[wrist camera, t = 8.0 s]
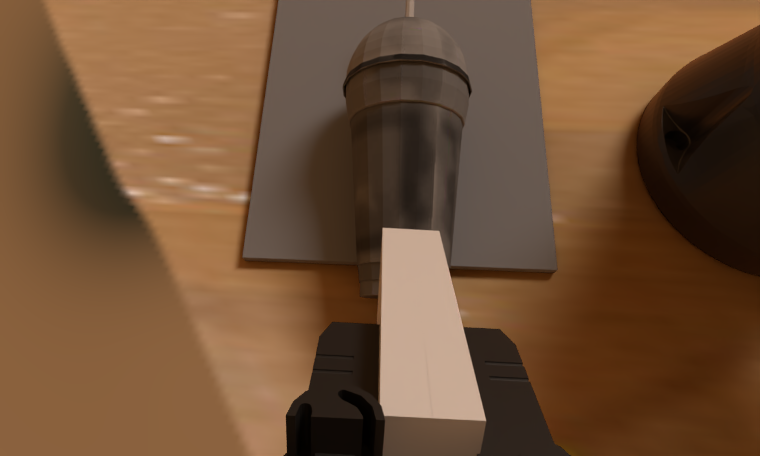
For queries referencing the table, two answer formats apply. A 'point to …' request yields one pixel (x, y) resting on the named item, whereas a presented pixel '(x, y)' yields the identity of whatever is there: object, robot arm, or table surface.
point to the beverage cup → (404, 134)
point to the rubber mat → (334, 142)
